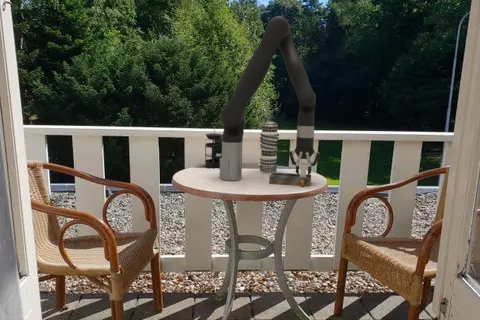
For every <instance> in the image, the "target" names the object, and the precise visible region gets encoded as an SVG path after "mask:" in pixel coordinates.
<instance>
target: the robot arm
mask: <svg viewBox="0 0 480 320" xmlns="http://www.w3.org/2000/svg"><path fill="white" fill-rule="evenodd" d="M265 27H266V28H265V30H264V33H263V36H262V37H261V40H260V43H259V44H258V46H257V48H256V49H255V51H254V52H253V54H252V56H251V58H250V59H249V61H248V63H247V64H246V67H245V68H244V71H243V72H242V74H241V77H240V79H239V81H238V84H237V86H236V87H235V90H234V92H233V94H232V95H231V98H230V99H229V101H228V103H227V104H226V105H225V106H224V108H223V110H222V111H221V114H220V115H221V116H220V119H221V123H222V124H223V133H222V134H223V135H222V139H221V144H222V147H221V154H222V156H221V157H219V159H220V168H219V179H221V180H223V181H234V182H235V181H241V180H242V178H243V177H242V170H243V139H244V132H245V113H244V112H245V109H246V108H247V105H248V103H249V102H250V100H251V99H252V98H253V96H254V95H255V94H256V93H257V92H258V90H259V88H260V87H261V85H262V84H263V82H264V80H265V78H266V76H267V74H268V72H269V69H270V67H271V64H272V61H273V57H274V55H275V52H276V51H277V49H279V50H280V53H281V55H282V58H283V61H284V66H285V69H286V71H287V73H288V76H289V79H290V81H291V83H292V85H293V87H294V91H295V93H296V96H297V99H298V102H299V110H298V117H297V128H296V134H295V135H296V142H295V149H294V150H289V152H288V155H289V158H290V162H291V165H294V166H295V174H300V161H301V160H306V161H307V165H308V166H307V175H311V174H312V168H313V167H315V166H316V165H317V162H318V159H319V158H320V155H321V153H320V152H319V151H315V149H314V144H315V143H314V142H315V141H314V139H315V110H316V109H315V108H316V99H317V97H316V93H315V92H314V90H313V88H312V86H311V83H310V81H309V76H308V74H307V71H306V70H305V67H304V64H303V62H302V60H301V58H300V56H299V54H298V51H297V49H296V47H295V44H294V39H293V35H292V31H291V25H290V23H289V21H288V20H287V19H286V18H285V16H282V15H275V16H274V17H272V18H271V19H270V20H269V21H268V23H267V25H266V26H265ZM295 155H296V156H297V160H296V161H295V157H294V156H295ZM312 156H314V160H313V161H311V157H312Z"/></svg>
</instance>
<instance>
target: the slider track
mask: <svg viewBox="0 0 480 320" xmlns="http://www.w3.org/2000/svg"><path fill="white" fill-rule="evenodd" d="M298 176H300V173H299V174H297V173H291V172H290V173H288V172H278V171H276V172H271V175H269V180H268V184H270V185H281V186H282V185H284V186H298V187H300V188H304V187H308V188H309V187H311V184H312V183H311V182H312V175H311V174H309V175H308V173H306V177H298ZM308 177H309V178H308Z"/></svg>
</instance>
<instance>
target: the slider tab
mask: <svg viewBox="0 0 480 320" xmlns="http://www.w3.org/2000/svg"><path fill="white" fill-rule="evenodd" d="M307 165H308V163H303V162H302V163H300V167H299V174H300V176H298V177H306V174H307V170H308V166H307ZM308 178H309V177H308Z"/></svg>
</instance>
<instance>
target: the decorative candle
mask: <svg viewBox="0 0 480 320" xmlns="http://www.w3.org/2000/svg"><path fill="white" fill-rule="evenodd" d="M278 126H279V125H278V124H277V122H275V121H264V122H263V123H262V124H261V132H260V134H259V135H260V136H259V139H260V140H259V142H260V144H259V145H260V147H259V148H260V158H259V160H260V161H259V174H262V175H269V176H270V175H271V172H278V170H277V168H278V166H277V164H278V162H277V161H278V156H277V151H278V148H277V147H278V146H279V145H278V144H279V141H278V139H280V137H279V136H280V134H279V133H278V129H279V128H278Z"/></svg>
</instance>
